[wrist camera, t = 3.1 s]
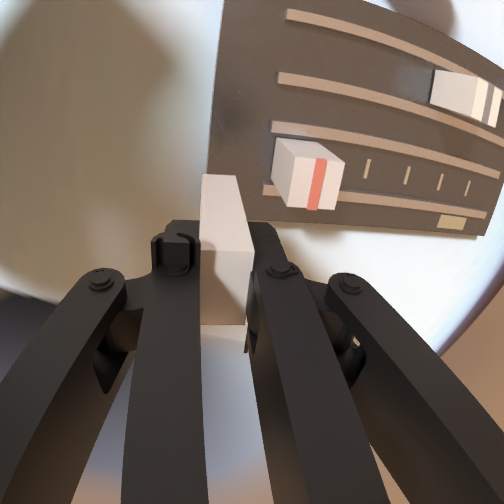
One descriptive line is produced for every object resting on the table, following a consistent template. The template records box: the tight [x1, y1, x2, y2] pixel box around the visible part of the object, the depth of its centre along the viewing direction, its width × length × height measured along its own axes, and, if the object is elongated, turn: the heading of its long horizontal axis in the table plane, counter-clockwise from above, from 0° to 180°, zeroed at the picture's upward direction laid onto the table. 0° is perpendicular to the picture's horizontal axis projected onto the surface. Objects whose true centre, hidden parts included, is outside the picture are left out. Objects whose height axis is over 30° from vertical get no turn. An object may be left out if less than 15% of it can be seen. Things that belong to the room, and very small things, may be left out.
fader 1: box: [271, 137, 345, 210], centre depth 20 cm, size 3×3×5 cm
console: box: [206, 0, 504, 236], centre depth 22 cm, size 30×18×3 cm, turn 83°
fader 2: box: [430, 70, 502, 128], centre depth 18 cm, size 3×3×5 cm
